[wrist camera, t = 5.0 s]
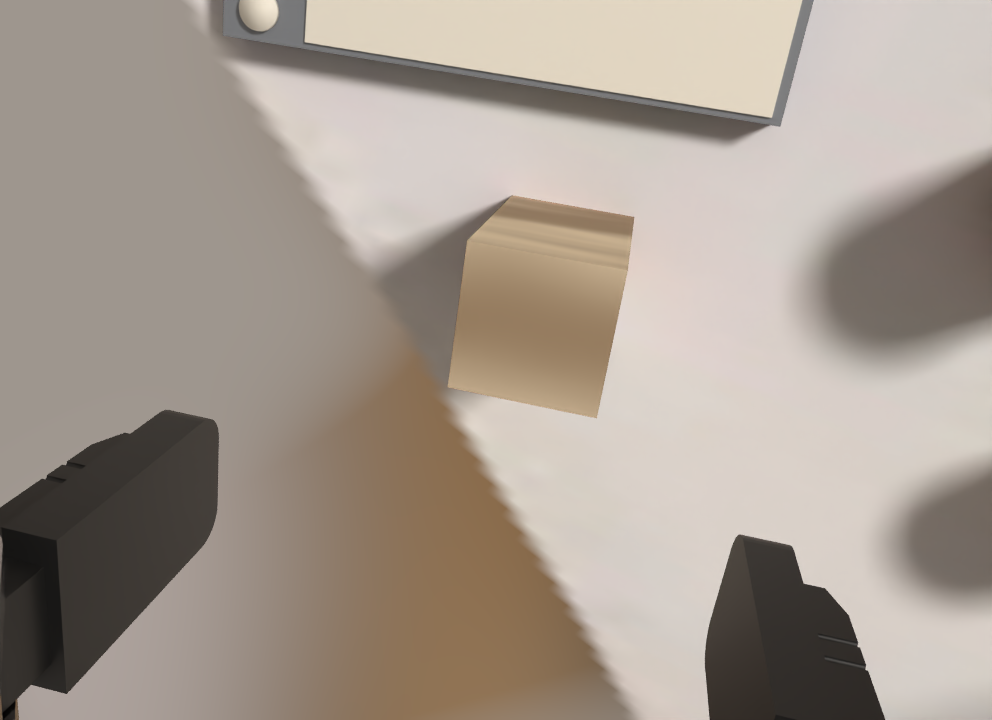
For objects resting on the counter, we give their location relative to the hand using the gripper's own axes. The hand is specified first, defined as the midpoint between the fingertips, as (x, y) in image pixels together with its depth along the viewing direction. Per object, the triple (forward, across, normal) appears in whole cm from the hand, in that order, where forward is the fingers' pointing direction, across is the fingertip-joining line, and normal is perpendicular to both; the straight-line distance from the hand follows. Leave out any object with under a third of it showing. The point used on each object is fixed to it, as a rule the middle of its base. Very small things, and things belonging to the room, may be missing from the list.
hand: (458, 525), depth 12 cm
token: (+16, 0, 0) cm, 16 cm away
